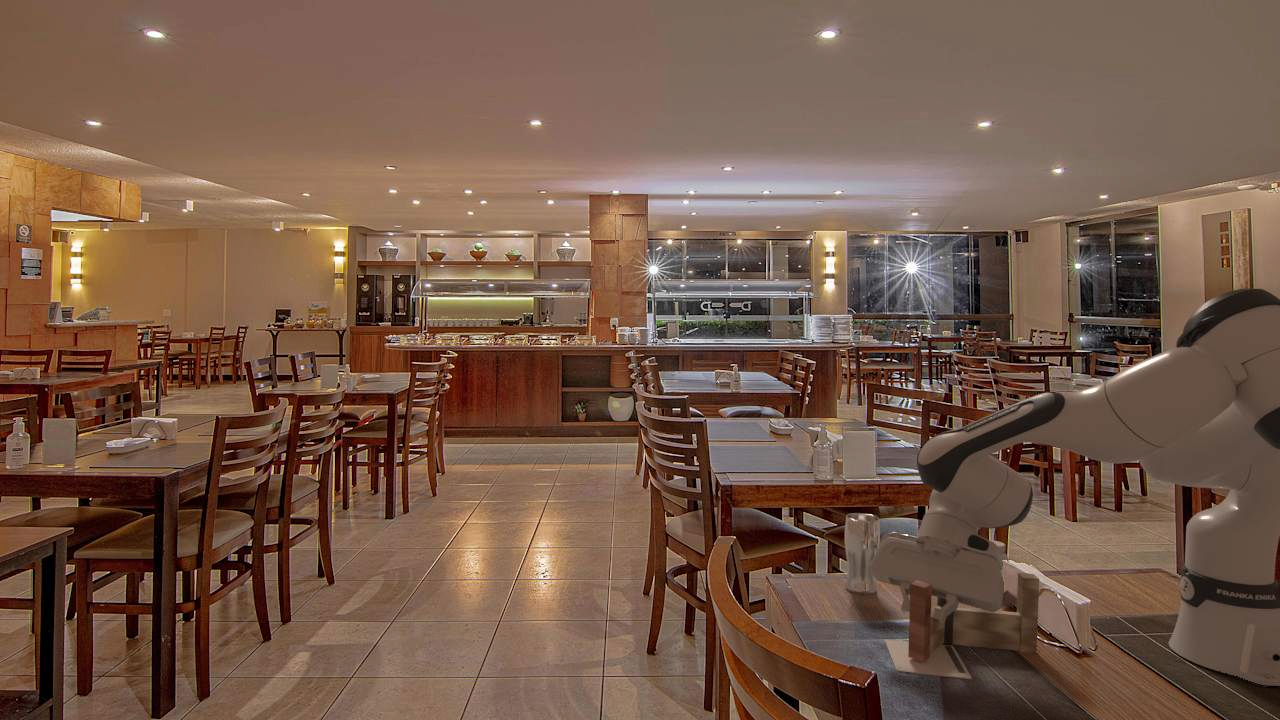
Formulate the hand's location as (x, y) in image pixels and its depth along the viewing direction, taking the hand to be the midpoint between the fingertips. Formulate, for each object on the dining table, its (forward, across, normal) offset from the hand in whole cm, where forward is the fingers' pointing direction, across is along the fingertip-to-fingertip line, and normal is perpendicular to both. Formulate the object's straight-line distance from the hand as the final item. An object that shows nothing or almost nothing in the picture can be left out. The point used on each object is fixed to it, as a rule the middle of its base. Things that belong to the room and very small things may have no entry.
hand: (922, 617), depth 107 cm
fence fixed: (-4, +6, +15) cm, 17 cm away
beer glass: (-11, -20, +22) cm, 32 cm away
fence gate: (+2, 0, +8) cm, 8 cm away
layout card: (+4, 0, +7) cm, 8 cm away
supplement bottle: (-25, 0, +36) cm, 43 cm away
